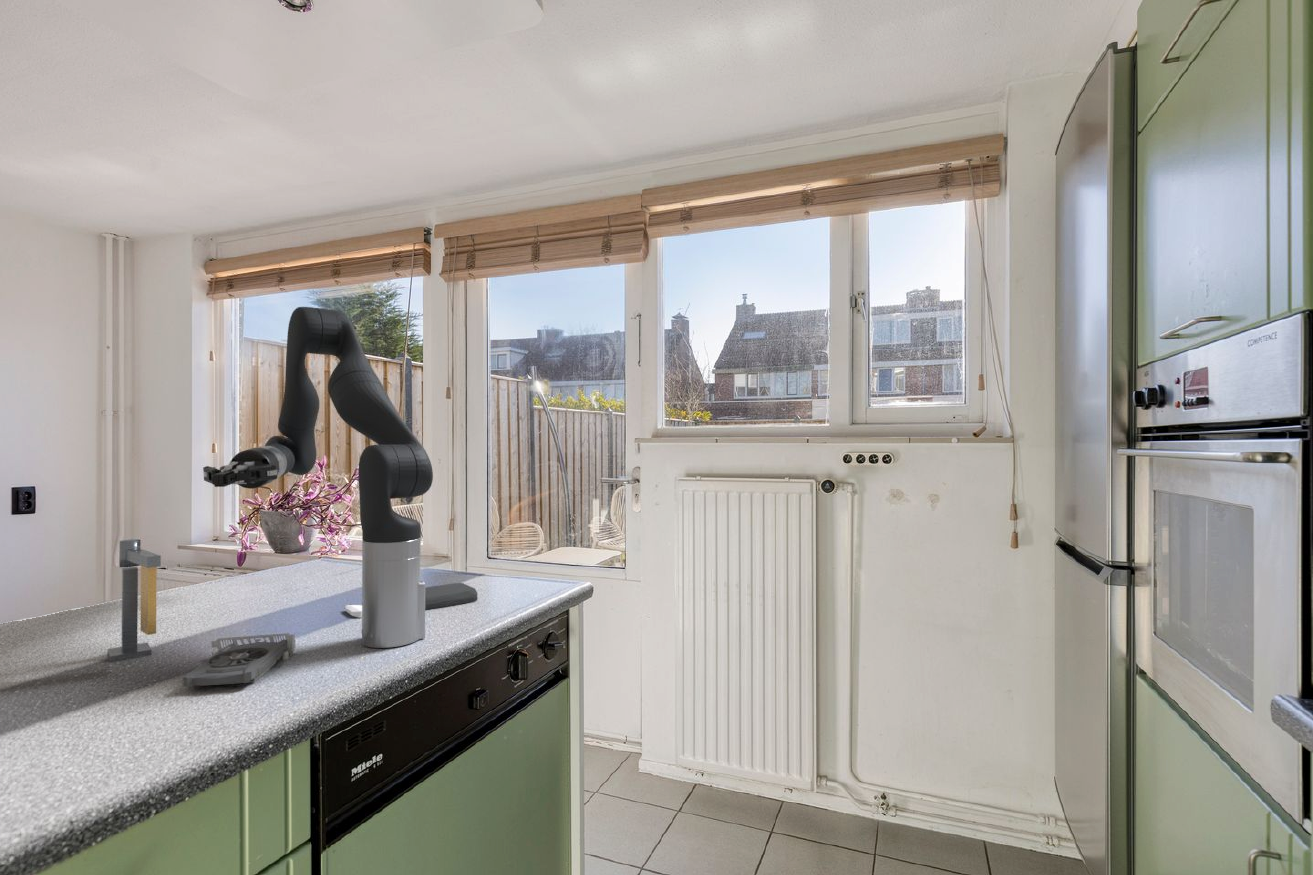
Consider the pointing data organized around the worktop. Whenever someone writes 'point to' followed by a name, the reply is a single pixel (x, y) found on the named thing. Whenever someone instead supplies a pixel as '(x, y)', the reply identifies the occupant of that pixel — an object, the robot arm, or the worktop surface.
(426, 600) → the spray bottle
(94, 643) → the worktop surface
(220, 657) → the graphics card
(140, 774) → the worktop surface
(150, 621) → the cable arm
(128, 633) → the mast
